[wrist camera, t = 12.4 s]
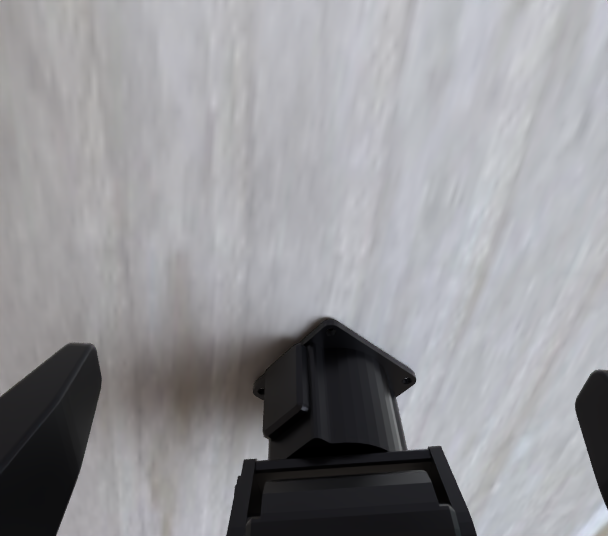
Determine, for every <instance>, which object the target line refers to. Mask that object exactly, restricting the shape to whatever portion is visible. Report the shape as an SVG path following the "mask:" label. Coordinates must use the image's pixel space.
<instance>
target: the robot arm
mask: <svg viewBox="0 0 608 536" xmlns="http://www.w3.org/2000/svg"><path fill="white" fill-rule="evenodd" d="M328 329H334V330H332V331H328ZM404 378H407V379H404ZM101 382H102V378H101V372H100V366H99V361H98V356H97V350H96V348H95V346H94V345H93V344H90V343H69V344H67V345H65V346H64V347H63V348H61V349H60V350H59V351H58V352H56V353H55V354H54V355H53V356H51V357H50V358H49V359H47V360H46V361H45V362H44V363H42V364H41V365H40V366H39V367H37V368H36V369H35V370H34V371H32V372H31V373H30V374H28V375H27V376H26V377H25V378H23V379H22V380H21V381H20V382H18V383H17V384H16V385H14V386H13V387H12V388H11V389H9V390H8V391H7V392H6V393H4V394H3V395H2V396H1V397H0V536H56V535H57V532H58V529H59V527H60V524H61V521H62V519H63V516H64V513H65V511H66V508H67V505H68V503H69V500H70V497H71V495H72V492H73V490H74V487H75V484H76V481H77V478H78V475H79V472H80V469H81V465H82V462H83V458H84V454H85V450H86V446H87V442H88V438H89V434H90V430H91V426H92V422H93V418H94V414H95V410H96V406H97V402H98V398H99V394H100V390H101ZM415 382H416V377H415V373H414V372H413V371H412V370H411V369H410V368H408V367H406V366H405V365H403V364H402V363H400V362H399V361H397V360H396V359H394V358H393V357H391V356H390V355H388V354H387V353H385V352H384V351H382V350H380V349H379V348H377V347H376V346H374V345H373V344H371V343H370V342H368V341H367V340H365V339H364V338H362V337H361V336H359V335H358V334H356V333H354V332H353V331H351V330H350V329H348V328H347V327H345V326H344V325H342V324H341V323H339V322H338V321H336V320H331V319H329V320H326V321H324V322H322V323H321V324H320V325H319V326H318V327H317V328H316V329H315V330H313V331H312V332H311V333H310V334H309V335H308V336H307V337H305V338H304V339H303V340H302V341H301V342H300V343H298V344H296V345H294V346H293V347H292V348H290V349H289V350H288V351H287V352H286V353H285V354H284V355H283V356H281V357H280V358H279V359H278V360H277V361H276V362H275V363H274V364H272V365H271V366H270V367H269V368H268V369H267V370H266V373H265V374H264V375H263V376H261V377H260V378H259V379H258V380H257V381H256V382H255V383H254V387H253V393H254V395H255V396H257V397H259V398H261V399H262V400H264V415H263V435H264V437H265V438H267V439H269V454H268V460H262V461H257V459H246V460H244V462H243V468H242V473H241V476H238V479H237V484H236V485H235V493H234V500H233V505H232V510H231V515H230V520H229V525H228V530H227V535H226V536H477V534H476V531H475V528H474V524H473V521H472V518H471V516H470V513H469V511H468V508H467V506H466V504H465V501H464V499H463V497H462V494H461V492H460V490H459V487H458V485H457V483H456V480H455V478H454V476H453V473H452V471H451V469H450V466H449V464H448V462H447V459H446V457H445V455H444V452H443V450H442V448H441V446H432V447H428V449H419V450H407V446H406V441H405V437H404V432H403V428H402V423H401V418H400V414H399V409H398V405H397V400H396V397H397V396H399V395H400V394H402V393H403V392H404V391H406V390H407V389H408V388H410V387H411V386H413V385H414V384H415ZM260 388H264V389H260ZM575 410H576V414H577V418H578V421H579V424H580V428H581V431H582V434H583V438H584V441H585V444H586V447H587V451H588V454H589V457H590V461H591V464H592V467H593V471H594V474H595V477H596V480H597V483H598V486H599V489H600V492H601V494H602V497H603V500H604V502H605V505H606V507H607V509H608V370H595V371H594V372H592V373H591V374H590V376H589V378H588V379H587V381H586V383H585V384H584V386H583V388H582V390H581V391H580V393H579V395H578V396H577V398H576V402H575Z"/></svg>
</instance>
